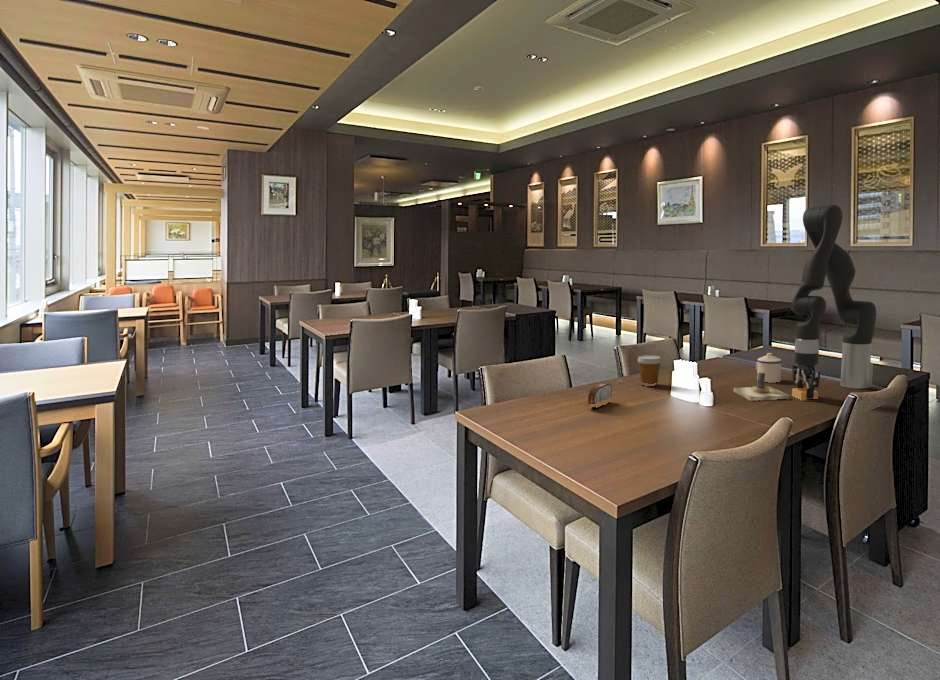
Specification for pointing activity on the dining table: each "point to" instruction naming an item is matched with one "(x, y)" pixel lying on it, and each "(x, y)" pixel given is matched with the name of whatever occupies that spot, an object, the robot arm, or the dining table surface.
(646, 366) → the disposable coffee cup
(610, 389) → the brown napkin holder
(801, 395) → the orange square socket block
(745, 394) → the post stand
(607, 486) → the dining table surface
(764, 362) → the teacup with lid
